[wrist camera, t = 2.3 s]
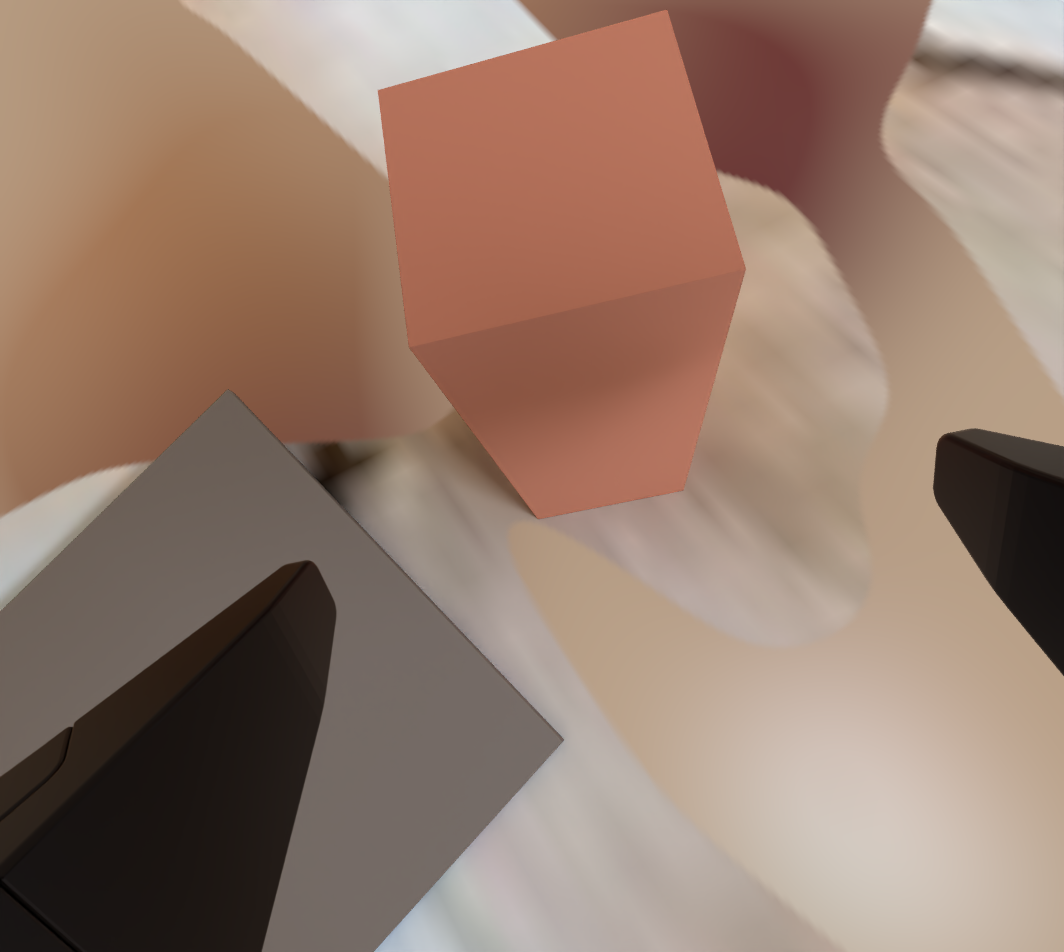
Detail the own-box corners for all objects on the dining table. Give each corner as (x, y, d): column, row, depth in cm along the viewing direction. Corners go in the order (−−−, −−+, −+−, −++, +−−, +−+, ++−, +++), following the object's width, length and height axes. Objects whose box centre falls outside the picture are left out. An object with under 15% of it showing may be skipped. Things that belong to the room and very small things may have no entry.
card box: (683, 490, 21) (746, 268, 9) (538, 519, 22) (408, 347, 10) (651, 357, 23) (666, 9, 10) (515, 387, 23) (377, 90, 11)
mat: (564, 739, 20) (562, 741, 20) (138, 1212, 18) (127, 1224, 18) (234, 393, 25) (228, 389, 25) (-118, 737, 24) (-131, 739, 23)
